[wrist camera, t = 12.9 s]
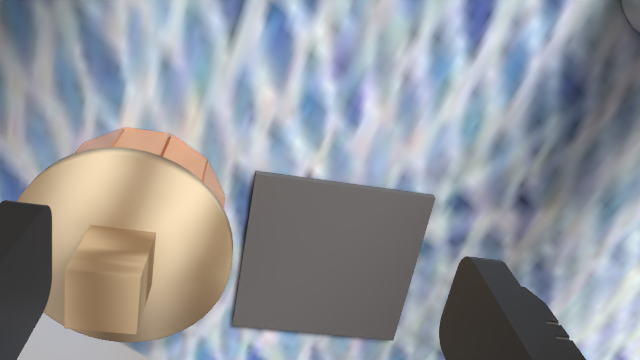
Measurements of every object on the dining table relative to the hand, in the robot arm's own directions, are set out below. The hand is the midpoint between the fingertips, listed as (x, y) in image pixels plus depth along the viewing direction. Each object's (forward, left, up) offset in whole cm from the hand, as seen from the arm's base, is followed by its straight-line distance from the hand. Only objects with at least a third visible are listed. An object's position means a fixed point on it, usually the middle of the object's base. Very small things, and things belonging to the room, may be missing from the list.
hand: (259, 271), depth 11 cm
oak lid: (+7, +15, -24) cm, 29 cm away
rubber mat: (-8, +18, -30) cm, 36 cm away
